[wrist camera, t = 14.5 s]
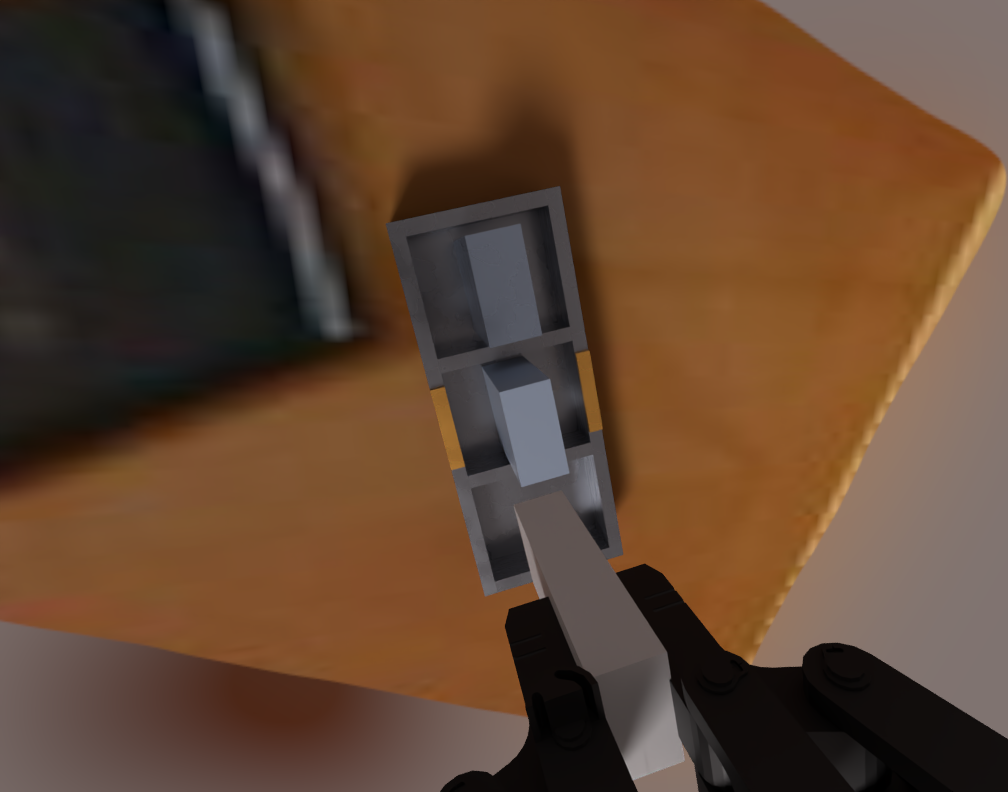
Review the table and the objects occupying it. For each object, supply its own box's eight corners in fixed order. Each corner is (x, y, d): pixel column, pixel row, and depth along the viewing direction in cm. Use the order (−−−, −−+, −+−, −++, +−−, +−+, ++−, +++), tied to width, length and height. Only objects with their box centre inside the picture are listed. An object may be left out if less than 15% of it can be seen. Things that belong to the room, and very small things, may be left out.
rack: (388, 227, 36) (381, 217, 28) (544, 194, 38) (584, 173, 29) (478, 565, 44) (495, 641, 35) (604, 528, 45) (650, 592, 37)
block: (481, 366, 39) (499, 392, 31) (522, 355, 39) (550, 378, 31) (500, 444, 40) (521, 487, 33) (539, 433, 41) (569, 473, 33)
